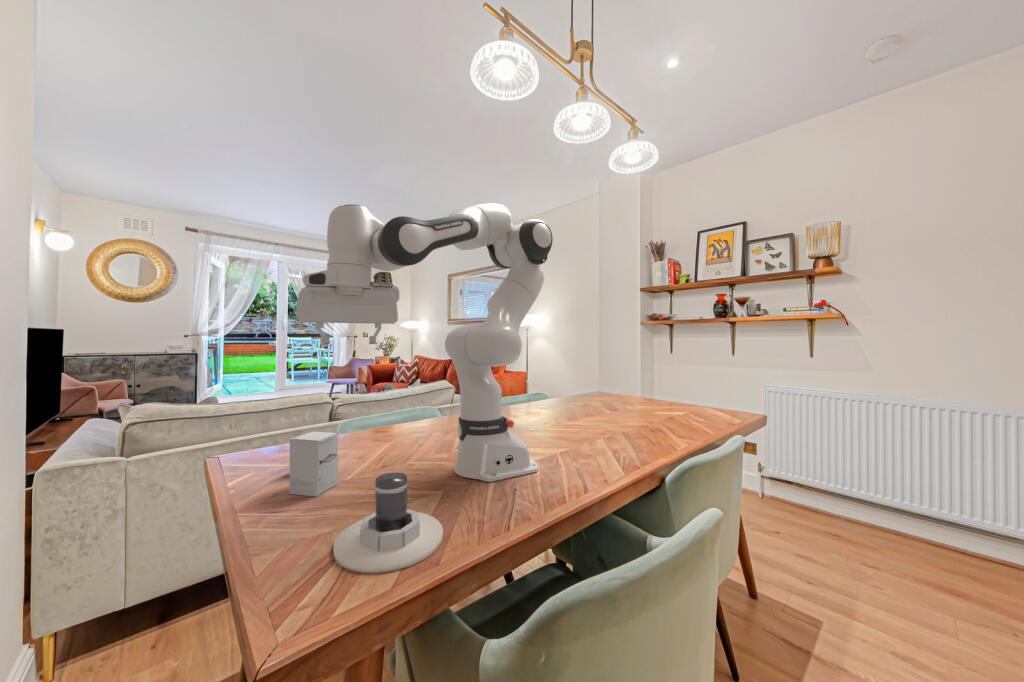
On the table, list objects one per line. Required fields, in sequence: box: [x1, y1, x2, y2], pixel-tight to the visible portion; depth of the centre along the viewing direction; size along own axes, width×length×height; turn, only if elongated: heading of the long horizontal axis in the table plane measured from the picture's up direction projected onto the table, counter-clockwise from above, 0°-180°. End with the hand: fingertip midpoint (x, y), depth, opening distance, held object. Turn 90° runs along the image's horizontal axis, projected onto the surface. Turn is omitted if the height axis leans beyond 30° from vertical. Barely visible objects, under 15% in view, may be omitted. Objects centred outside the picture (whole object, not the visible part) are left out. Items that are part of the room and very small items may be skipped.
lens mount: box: [332, 508, 444, 574], centre depth 66 cm, size 18×18×4 cm
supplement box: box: [289, 431, 339, 497], centre depth 87 cm, size 7×7×13 cm
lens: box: [374, 471, 408, 532], centre depth 66 cm, size 5×5×10 cm
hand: (349, 344), depth 82 cm, fingers open, 8 cm apart
